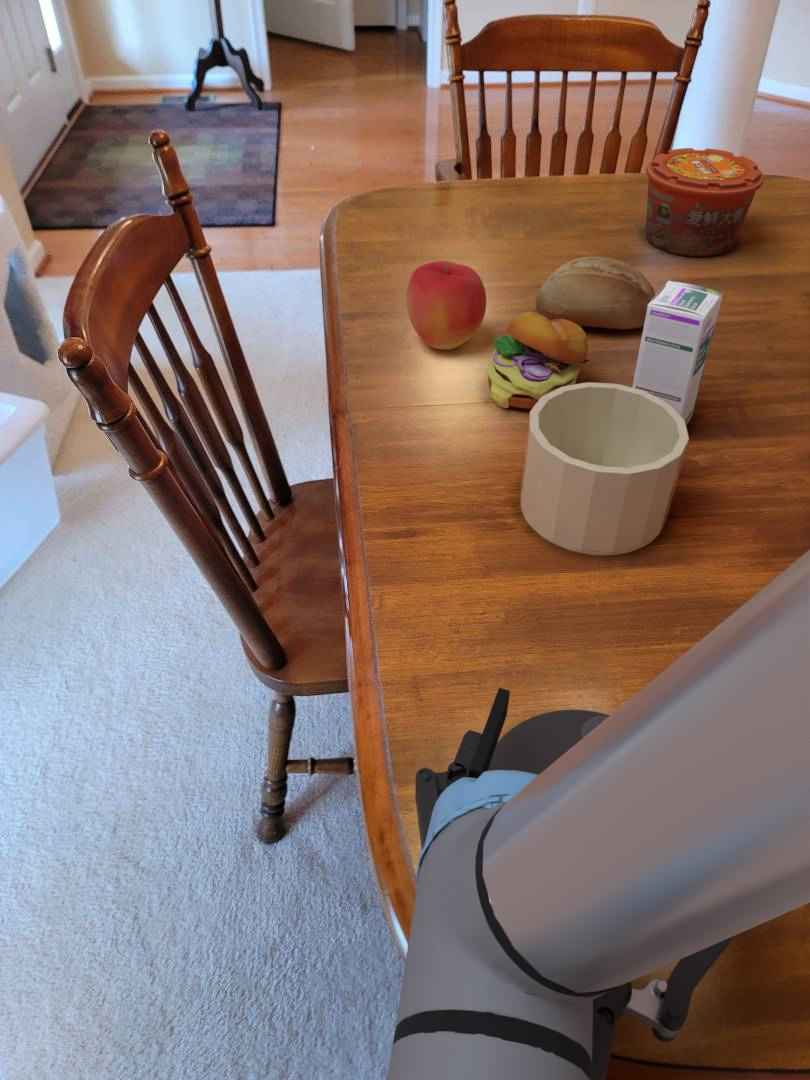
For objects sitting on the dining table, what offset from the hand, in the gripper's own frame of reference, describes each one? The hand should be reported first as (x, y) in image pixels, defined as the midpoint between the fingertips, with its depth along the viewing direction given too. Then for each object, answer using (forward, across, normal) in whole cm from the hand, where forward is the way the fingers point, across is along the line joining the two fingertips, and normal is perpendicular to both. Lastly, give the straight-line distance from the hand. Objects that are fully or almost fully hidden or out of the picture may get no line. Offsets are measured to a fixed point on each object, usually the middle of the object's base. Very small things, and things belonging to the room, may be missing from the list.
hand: (604, 731), depth 54 cm
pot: (+29, -6, -6) cm, 30 cm away
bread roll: (+65, -13, -6) cm, 66 cm away
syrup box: (+46, -2, -6) cm, 46 cm away
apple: (+53, -29, -6) cm, 61 cm away
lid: (-2, 0, -5) cm, 6 cm away
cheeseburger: (+47, -16, -6) cm, 50 cm away
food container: (+94, -4, -6) cm, 95 cm away
